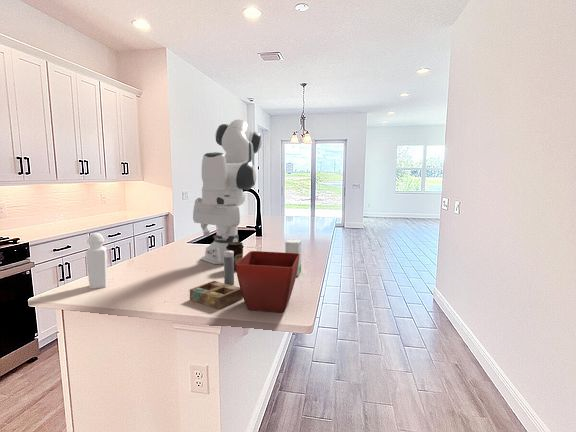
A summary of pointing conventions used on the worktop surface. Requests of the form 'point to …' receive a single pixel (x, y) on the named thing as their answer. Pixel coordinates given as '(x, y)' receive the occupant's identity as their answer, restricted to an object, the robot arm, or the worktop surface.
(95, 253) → the white bottle
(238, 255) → the coffee cup
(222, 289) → the socket deck
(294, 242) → the skincare box
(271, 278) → the plant pot
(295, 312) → the worktop surface
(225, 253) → the grey cylinder
